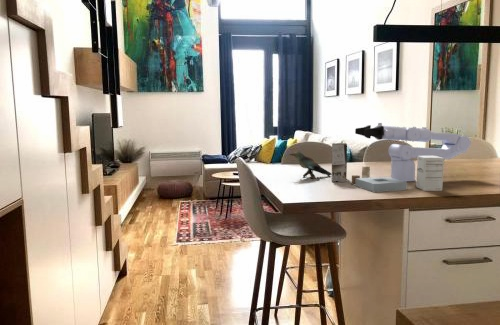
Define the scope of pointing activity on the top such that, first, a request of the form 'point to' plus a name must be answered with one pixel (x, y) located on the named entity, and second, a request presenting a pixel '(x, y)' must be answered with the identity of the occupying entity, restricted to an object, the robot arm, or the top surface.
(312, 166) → the bird figurine
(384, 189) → the hole board
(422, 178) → the supplement box
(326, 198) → the top surface
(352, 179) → the short dowel
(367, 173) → the long dowel
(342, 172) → the coffee box
